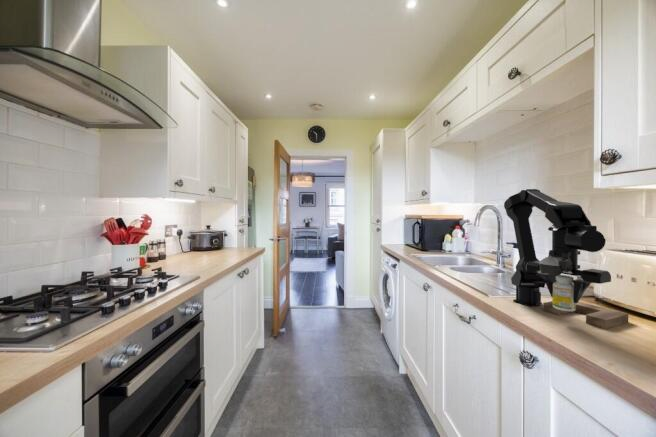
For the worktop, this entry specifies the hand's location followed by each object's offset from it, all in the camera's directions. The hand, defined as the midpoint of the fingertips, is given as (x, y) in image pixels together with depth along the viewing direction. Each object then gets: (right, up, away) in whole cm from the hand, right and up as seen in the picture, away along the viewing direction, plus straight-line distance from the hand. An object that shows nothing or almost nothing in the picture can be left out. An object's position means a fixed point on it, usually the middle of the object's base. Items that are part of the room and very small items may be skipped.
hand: (564, 300), depth 82 cm
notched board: (+11, -7, +6) cm, 14 cm away
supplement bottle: (0, -3, 0) cm, 3 cm away
